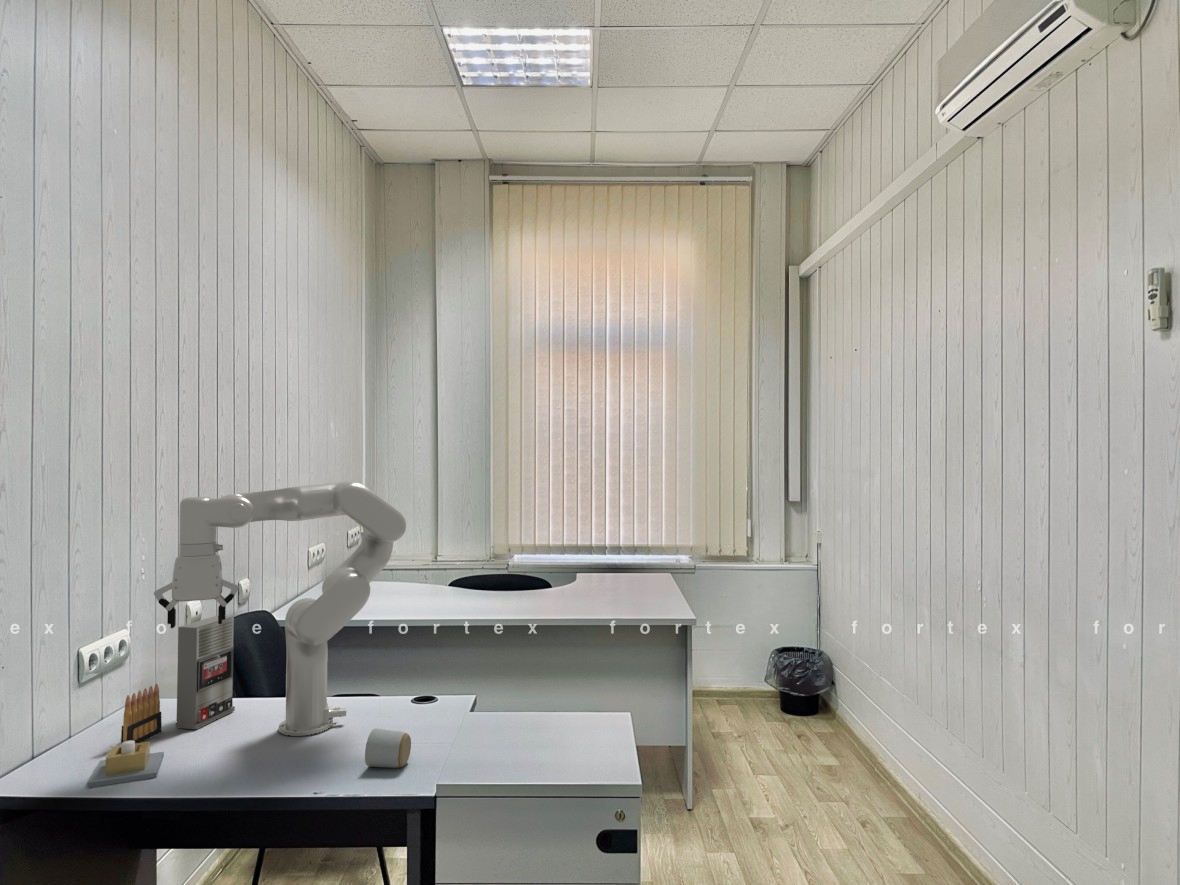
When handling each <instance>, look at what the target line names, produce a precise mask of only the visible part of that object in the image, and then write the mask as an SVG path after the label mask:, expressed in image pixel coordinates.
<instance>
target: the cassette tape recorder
mask: <svg viewBox="0 0 1180 885" xmlns="http://www.w3.org/2000/svg"><path fill="white" fill-rule="evenodd" d="M234 624H235V616H232V615H231V616H230V615H229V616H228V615H226V617H225V620H222V624H218V615H214V616H211V617H208V618H204V619H200V620H198V621H193V622H191V623H188V624H183V625H180V626H178V628H177V675H176V676H177V680H176V681H177V683H176V684H177V685H176V722H175V728H176V729H187V730H194V731H196V729H197V730H199V729H200V728H203V727H204V726H206V725H209V724H210V723H213V722H214V721H217V720H220V719H221V718H222V717H225V716H227V715H229V714H232V713H234V712H235V711H236V710H235V709H236V707H235V706H233V696H234V695H233V694H234V692H233V687H234V635H235V634H234V631H235V630H234V626H235V625H234ZM231 712H232V713H231ZM216 719H217V720H216Z"/></svg>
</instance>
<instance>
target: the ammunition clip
mask: <svg viewBox="0 0 1180 885" xmlns="http://www.w3.org/2000/svg"><path fill="white" fill-rule="evenodd" d="M122 720H123V723H122V725H121V735H120V745H121V744H122V743H123V742H125V741H135V743H142V742H146V741H148V740H150V739H152V738H153V737H155V736H157V735H159V734H161V733H162V730H163V729H162V711H161V700H160V689H159V685H158V683H156V684H155V685H154V687H153V686H152V685H150V686H149V689H147V688H146V687H145V688H144V690H143V691H141V690H140V689H139V690H138V692H137V695H136V693H135V692H133V693H132V695H131V697H130V695H129V694H128V695H127V696H126V698H125V702H124V712H123V719H122Z"/></svg>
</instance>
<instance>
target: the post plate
mask: <svg viewBox="0 0 1180 885" xmlns="http://www.w3.org/2000/svg"><path fill="white" fill-rule="evenodd" d="M120 745H121V754H124V753H131V752H135V741H125V742H123V743H122V744H121V743H120ZM164 755H165V752H164V751H159V752H153V753H151V752H150V758H149V760H148V763H147V765H146V768H145V770H140V771H134V772H127V773H120V774H113V775H106V776H105V766H106V759H102V760H101V759H100V760H99V761H98V763H97V766H96V767H95V769H94V770H93V773H92V774H91V776H90V778H89V780H88V782H87V788H88V787H89V788H94V787H93V786H96V787H100V786H101V785H103V786H108V785H116V784H122V783H127V782H134V781H143V780H147V779H148V780H149V779H154V778H157V777H158V774H159V772H160V768H161V765H162V762H163V761H164V760H163V759H164Z"/></svg>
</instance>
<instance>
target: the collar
mask: <svg viewBox="0 0 1180 885" xmlns="http://www.w3.org/2000/svg"><path fill="white" fill-rule="evenodd" d="M150 754H151V741H143V742H141V743H135V752H131V753H124V754H121V744H119V745H113V746H111V748H110V750H109V751H108V753H107V755H106V757H105V760H106V766H105V776H106V775H113V774H120V773H127V772H134V771H140V770H145V768H146V765H147V763H148V760H149V758H150Z"/></svg>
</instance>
